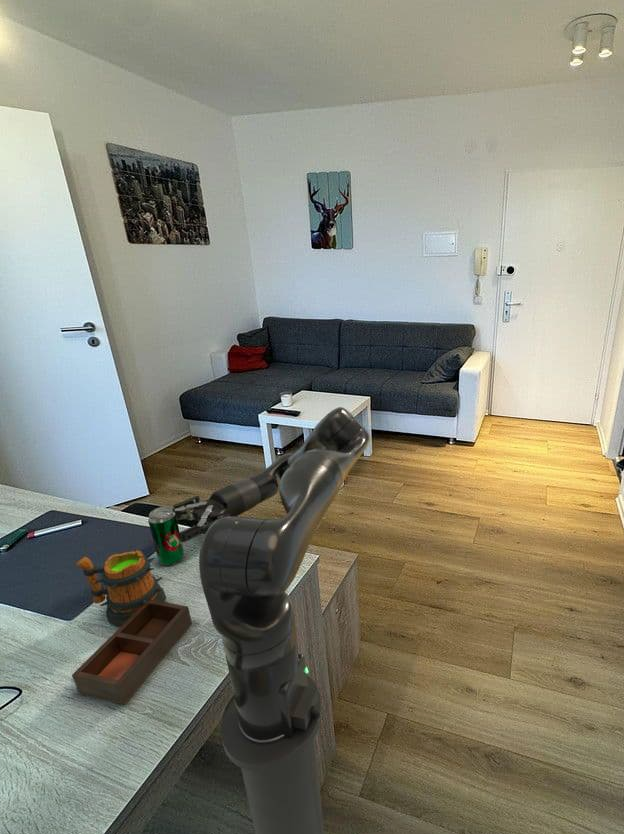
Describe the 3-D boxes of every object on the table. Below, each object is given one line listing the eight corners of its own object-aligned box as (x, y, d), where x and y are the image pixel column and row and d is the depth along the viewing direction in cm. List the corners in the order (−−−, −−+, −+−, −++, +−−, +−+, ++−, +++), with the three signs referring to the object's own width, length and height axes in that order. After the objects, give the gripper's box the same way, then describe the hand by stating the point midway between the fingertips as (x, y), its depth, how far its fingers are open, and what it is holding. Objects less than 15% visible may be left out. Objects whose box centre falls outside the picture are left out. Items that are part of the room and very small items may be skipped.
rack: (192, 623, 78) (188, 606, 76) (125, 704, 64) (118, 685, 62) (153, 616, 79) (148, 599, 78) (79, 694, 65) (71, 675, 64)
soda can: (161, 554, 95) (149, 507, 91) (186, 549, 97) (176, 503, 92) (156, 568, 91) (144, 521, 86) (183, 564, 92) (172, 516, 88)
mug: (176, 585, 86) (164, 537, 81) (152, 626, 76) (137, 575, 72) (108, 588, 85) (92, 540, 81) (75, 630, 76) (55, 578, 71)
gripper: (256, 522, 102) (190, 558, 89) (222, 502, 109) (156, 533, 97) (252, 494, 99) (183, 528, 87) (217, 476, 106) (149, 504, 94)
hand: (169, 530), depth 92 cm, fingers open, 8 cm apart
